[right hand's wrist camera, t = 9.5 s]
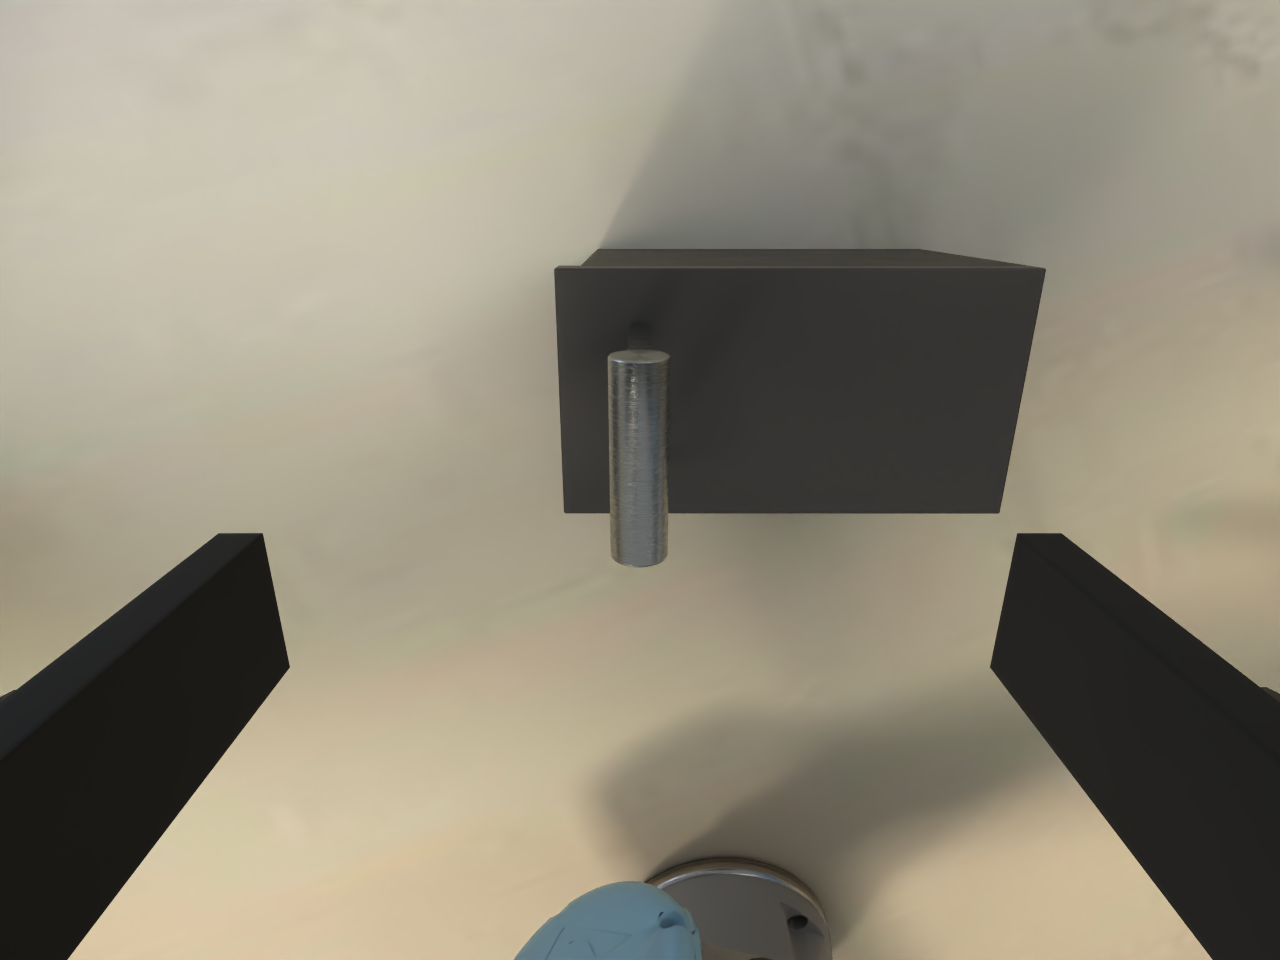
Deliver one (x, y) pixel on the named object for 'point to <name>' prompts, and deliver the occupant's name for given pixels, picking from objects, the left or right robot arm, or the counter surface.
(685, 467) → the lid
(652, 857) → the counter surface
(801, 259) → the chest
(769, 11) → the counter surface
